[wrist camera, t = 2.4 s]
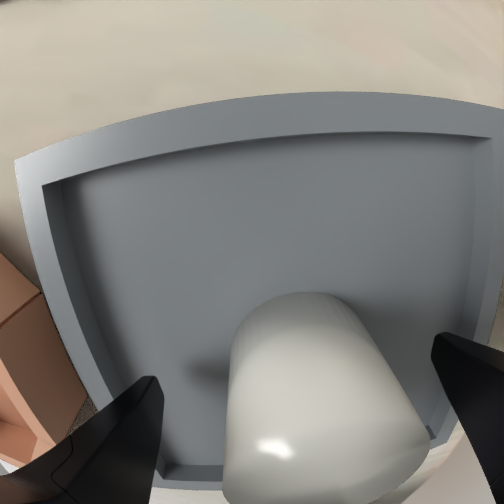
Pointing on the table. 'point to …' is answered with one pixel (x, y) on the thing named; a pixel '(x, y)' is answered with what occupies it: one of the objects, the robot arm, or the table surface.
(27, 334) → the bowl
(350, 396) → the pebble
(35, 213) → the parts tray
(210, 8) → the table surface
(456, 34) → the table surface
